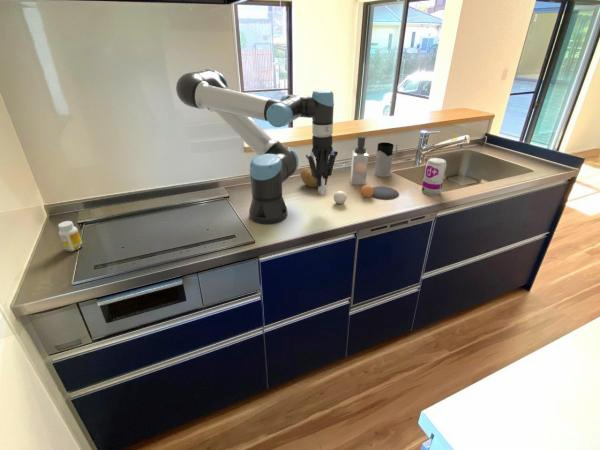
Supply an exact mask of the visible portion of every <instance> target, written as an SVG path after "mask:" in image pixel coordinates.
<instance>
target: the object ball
mask: <svg viewBox="0 0 600 450" xmlns="http://www.w3.org/2000/svg"><path fill="white" fill-rule="evenodd" d="M372 187H373V186H372V185H370V184H365V185H363V186H362V187H361V189H360V194H361V196H363V197H364V198H372V197H371V196H372V195H373V192H374V190H373V188H372Z"/></svg>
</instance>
